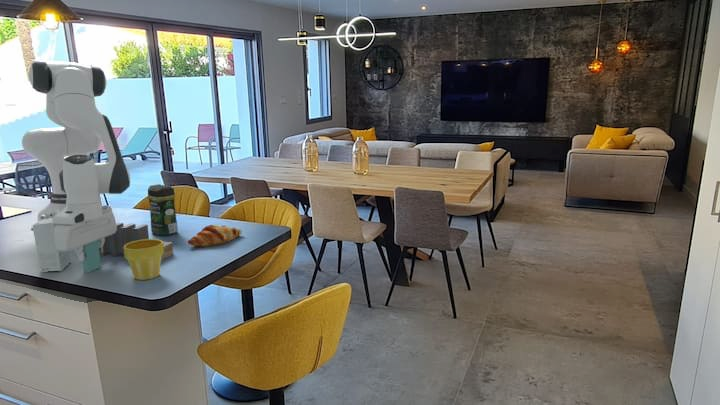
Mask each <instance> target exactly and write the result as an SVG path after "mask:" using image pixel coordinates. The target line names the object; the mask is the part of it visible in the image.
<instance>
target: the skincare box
mask: <svg viewBox="0 0 720 405" xmlns="http://www.w3.org/2000/svg"><path fill="white" fill-rule="evenodd" d="M56 225H57V224H54V223H53V218H48V219H43V220H41V221H38V220H37V222H36V223H34V224H32V226H33V229H32V230H33V237H34V241H35V243H34V244H35V247H36V248H35V249H36V254H37V261H38V266H39V272H40V273H49V272H48V271H59V272H62V271H63V270H64V269H65V268H66V267H67V266H69V265H70V264H72V259H71V251H68V252H66V251H59V250H58V249H57V248H56V246H55V239H54V228H55V226H56ZM69 263H70V264H69ZM61 270H62V271H61Z"/></svg>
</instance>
